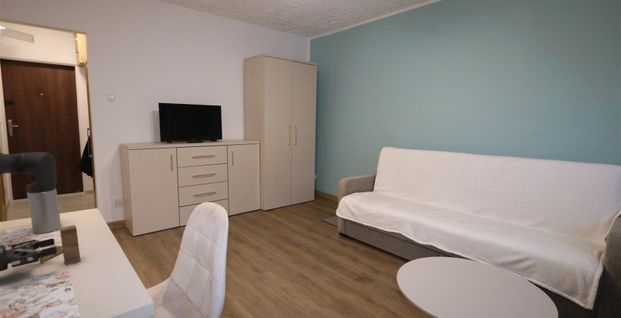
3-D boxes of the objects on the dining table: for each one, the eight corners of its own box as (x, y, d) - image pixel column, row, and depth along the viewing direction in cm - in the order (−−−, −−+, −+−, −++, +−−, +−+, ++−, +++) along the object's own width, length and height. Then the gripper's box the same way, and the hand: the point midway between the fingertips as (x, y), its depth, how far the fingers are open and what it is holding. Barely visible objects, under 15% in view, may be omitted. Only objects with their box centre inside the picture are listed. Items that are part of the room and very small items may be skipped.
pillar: (64, 261, 105) (59, 227, 103) (78, 257, 107) (74, 224, 105) (65, 265, 102) (61, 231, 100) (80, 261, 105) (76, 228, 103)
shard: (41, 265, 103) (40, 260, 103) (20, 264, 104) (20, 259, 104) (70, 250, 114) (69, 246, 113) (51, 249, 115) (50, 244, 114)
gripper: (-21, 258, 84) (55, 241, 95) (-17, 242, 94) (52, 228, 105) (-16, 284, 85) (59, 264, 96) (-13, 265, 96) (55, 249, 107)
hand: (55, 245), depth 101 cm, fingers open, 8 cm apart
